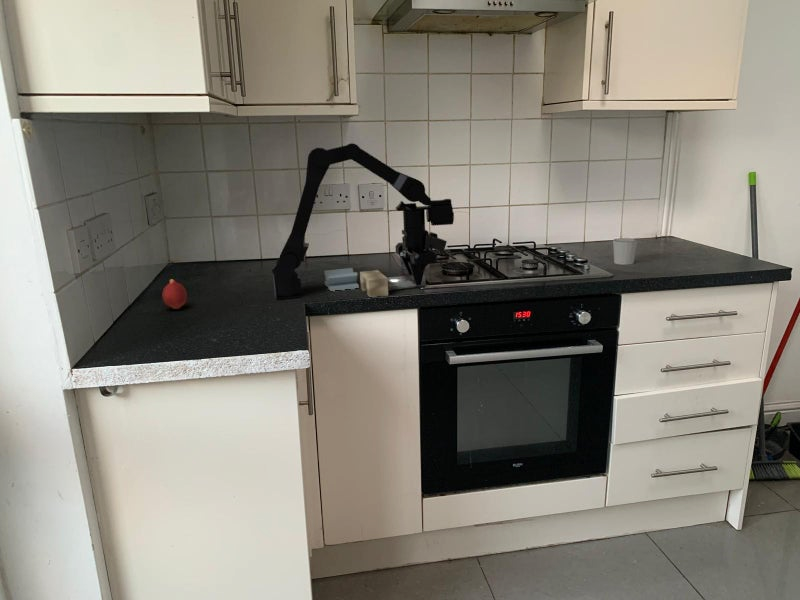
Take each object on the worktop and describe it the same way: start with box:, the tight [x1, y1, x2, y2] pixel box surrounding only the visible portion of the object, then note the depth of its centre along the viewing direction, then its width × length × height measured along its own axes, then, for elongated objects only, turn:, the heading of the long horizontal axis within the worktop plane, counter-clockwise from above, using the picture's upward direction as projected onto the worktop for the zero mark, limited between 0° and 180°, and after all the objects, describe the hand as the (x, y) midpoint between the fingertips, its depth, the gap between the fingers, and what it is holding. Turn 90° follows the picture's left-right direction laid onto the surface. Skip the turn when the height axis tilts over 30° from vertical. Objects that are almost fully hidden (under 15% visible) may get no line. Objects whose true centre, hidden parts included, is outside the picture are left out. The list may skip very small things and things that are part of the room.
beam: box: [359, 269, 389, 298], centre depth 157 cm, size 5×10×5 cm, turn 16°
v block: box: [323, 267, 360, 292], centre depth 165 cm, size 8×9×4 cm
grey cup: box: [612, 237, 638, 266], centre depth 178 cm, size 7×7×7 cm
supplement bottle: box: [399, 235, 409, 276], centre depth 176 cm, size 6×6×11 cm
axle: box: [387, 274, 427, 292], centre depth 160 cm, size 11×4×4 cm, turn 106°
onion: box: [161, 279, 188, 310], centre depth 149 cm, size 6×6×8 cm
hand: (416, 283), depth 161 cm, fingers closed on axle, 3 cm apart
